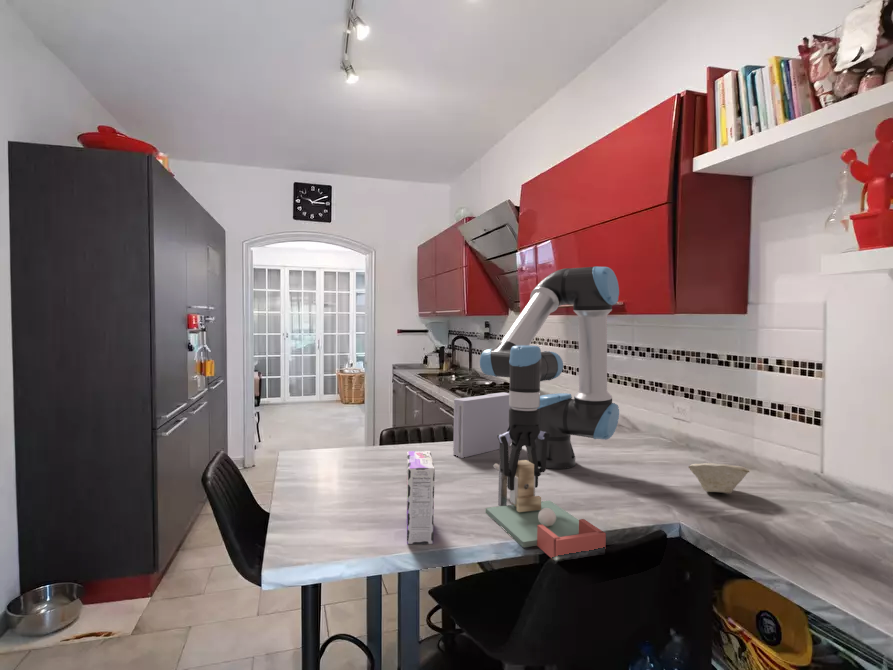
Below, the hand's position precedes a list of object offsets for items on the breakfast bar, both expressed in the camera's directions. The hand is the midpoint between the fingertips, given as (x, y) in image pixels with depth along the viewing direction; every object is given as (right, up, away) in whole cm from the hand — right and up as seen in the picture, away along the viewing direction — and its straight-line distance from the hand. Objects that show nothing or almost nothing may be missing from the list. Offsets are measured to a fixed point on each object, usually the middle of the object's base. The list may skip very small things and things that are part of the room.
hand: (522, 501), depth 124 cm
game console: (-5, -1, +59) cm, 59 cm away
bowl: (+57, -3, +16) cm, 60 cm away
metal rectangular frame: (-2, -2, +5) cm, 6 cm away
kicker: (-2, -1, +6) cm, 6 cm away
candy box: (-25, -3, -12) cm, 28 cm away
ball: (+4, 0, -11) cm, 12 cm away
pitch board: (+2, -3, -7) cm, 8 cm away
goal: (+7, -3, -20) cm, 22 cm away
